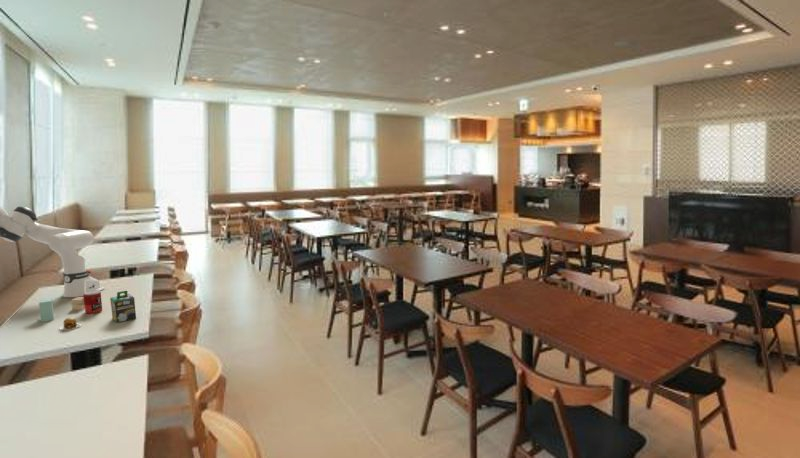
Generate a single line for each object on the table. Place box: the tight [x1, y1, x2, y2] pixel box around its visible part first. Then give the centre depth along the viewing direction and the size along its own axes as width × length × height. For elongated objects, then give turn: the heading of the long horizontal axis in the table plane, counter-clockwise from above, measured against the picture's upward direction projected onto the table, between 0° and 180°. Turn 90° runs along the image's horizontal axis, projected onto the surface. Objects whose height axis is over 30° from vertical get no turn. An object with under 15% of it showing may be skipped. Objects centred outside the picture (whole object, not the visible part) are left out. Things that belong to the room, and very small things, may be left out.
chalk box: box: [109, 290, 137, 323], centre depth 234 cm, size 9×9×15 cm
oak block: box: [71, 296, 85, 311], centre depth 251 cm, size 5×5×6 cm
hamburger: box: [58, 317, 82, 331], centre depth 222 cm, size 12×12×6 cm
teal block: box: [38, 298, 55, 323], centre depth 233 cm, size 5×5×10 cm
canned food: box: [83, 290, 103, 315], centre depth 245 cm, size 8×8×11 cm
